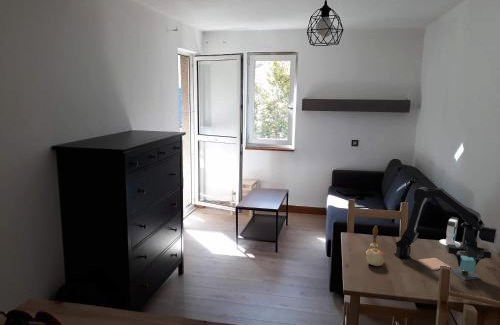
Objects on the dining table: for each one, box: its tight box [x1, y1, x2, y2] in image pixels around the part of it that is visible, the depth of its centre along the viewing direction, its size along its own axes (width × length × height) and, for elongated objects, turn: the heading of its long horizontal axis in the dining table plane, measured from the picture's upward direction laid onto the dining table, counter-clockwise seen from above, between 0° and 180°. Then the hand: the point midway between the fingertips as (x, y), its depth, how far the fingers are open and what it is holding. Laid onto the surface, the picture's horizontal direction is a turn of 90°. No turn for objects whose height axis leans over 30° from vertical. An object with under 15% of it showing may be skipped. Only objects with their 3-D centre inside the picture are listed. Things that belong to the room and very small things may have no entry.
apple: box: [365, 248, 386, 267], centre depth 195 cm, size 9×9×8 cm
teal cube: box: [457, 255, 477, 273], centre depth 187 cm, size 6×6×5 cm
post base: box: [450, 267, 481, 281], centre depth 187 cm, size 9×9×6 cm
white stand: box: [438, 216, 462, 248], centre depth 225 cm, size 12×11×15 cm
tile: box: [417, 257, 452, 271], centre depth 198 cm, size 11×11×1 cm
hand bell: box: [365, 225, 380, 255], centre depth 208 cm, size 8×8×16 cm
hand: (465, 267), depth 187 cm, fingers closed on teal cube, 6 cm apart
